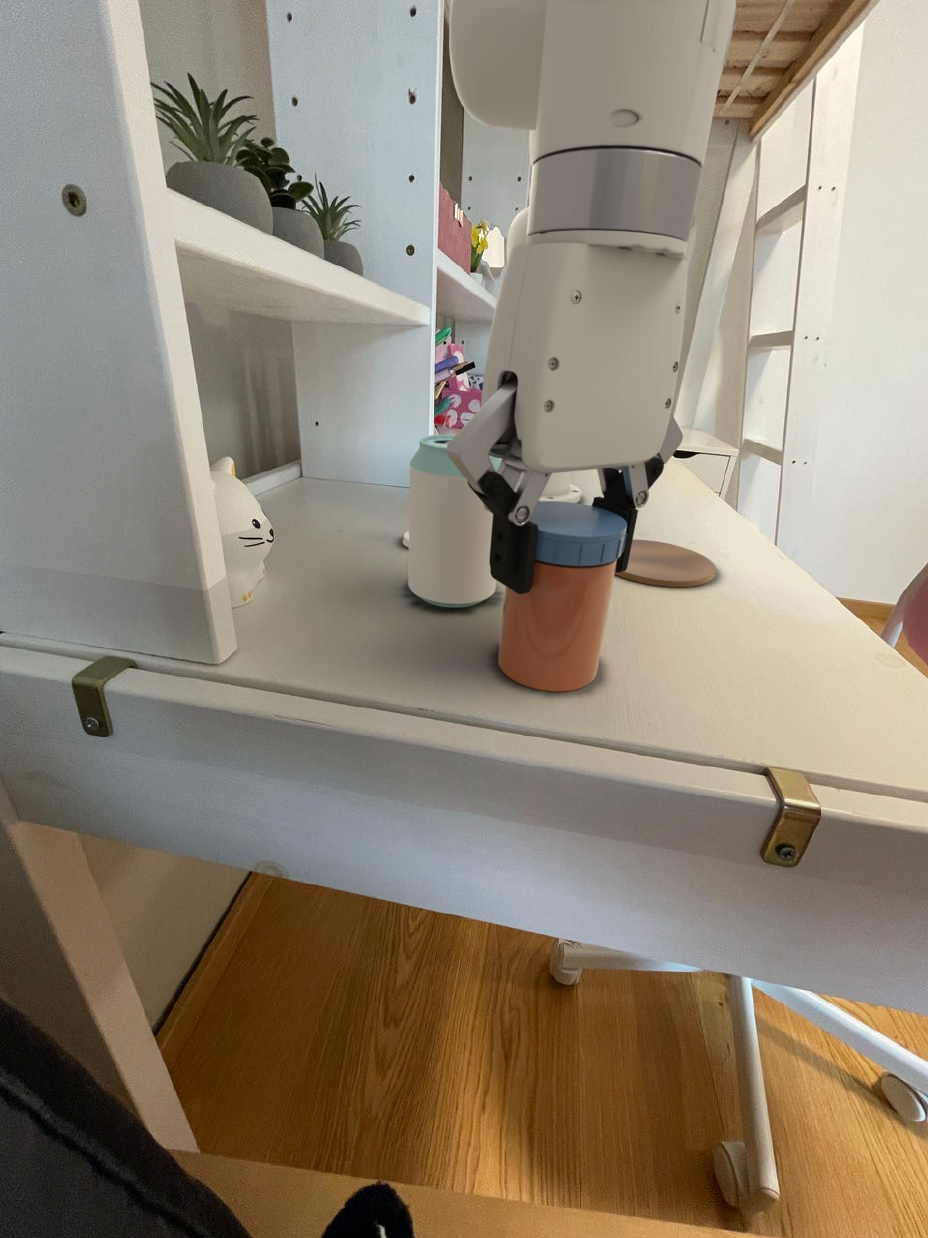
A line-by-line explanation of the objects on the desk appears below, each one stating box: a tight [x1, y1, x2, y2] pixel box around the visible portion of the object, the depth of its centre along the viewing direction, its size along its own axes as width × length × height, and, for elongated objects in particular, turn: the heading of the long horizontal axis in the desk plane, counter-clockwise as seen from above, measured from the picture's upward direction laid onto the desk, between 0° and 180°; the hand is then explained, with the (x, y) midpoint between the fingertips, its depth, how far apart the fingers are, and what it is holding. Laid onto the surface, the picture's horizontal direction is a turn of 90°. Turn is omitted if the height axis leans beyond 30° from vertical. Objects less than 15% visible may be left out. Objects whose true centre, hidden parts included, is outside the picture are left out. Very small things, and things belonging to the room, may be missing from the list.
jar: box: [497, 559, 618, 692], centre depth 36 cm, size 6×6×9 cm
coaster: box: [615, 539, 717, 588], centre depth 56 cm, size 11×11×1 cm
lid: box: [529, 501, 627, 566], centre depth 34 cm, size 7×7×2 cm
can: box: [407, 434, 502, 608], centre depth 45 cm, size 7×7×12 cm
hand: (559, 572), depth 35 cm, fingers closed on lid, 6 cm apart
